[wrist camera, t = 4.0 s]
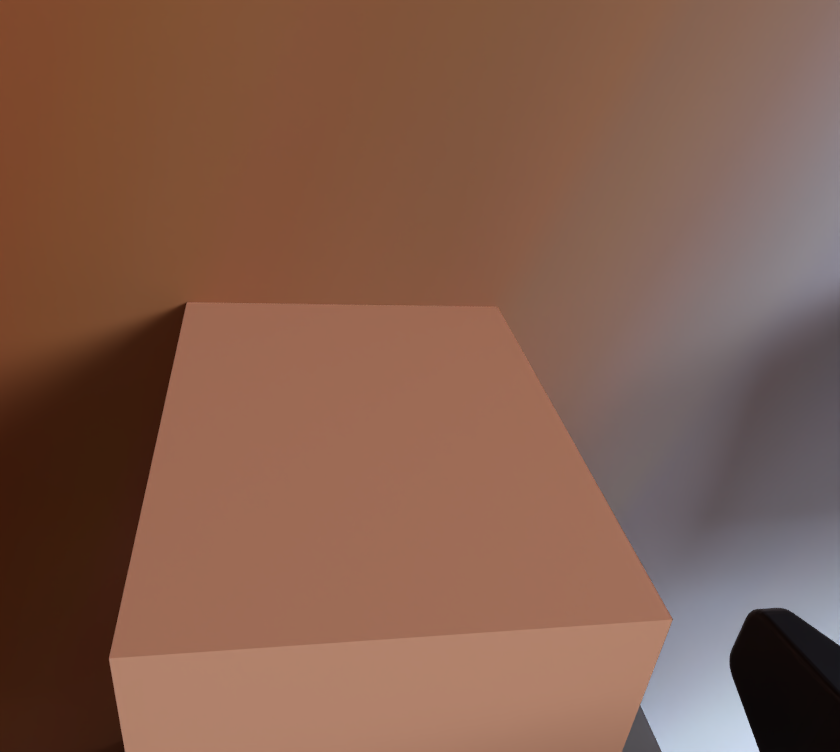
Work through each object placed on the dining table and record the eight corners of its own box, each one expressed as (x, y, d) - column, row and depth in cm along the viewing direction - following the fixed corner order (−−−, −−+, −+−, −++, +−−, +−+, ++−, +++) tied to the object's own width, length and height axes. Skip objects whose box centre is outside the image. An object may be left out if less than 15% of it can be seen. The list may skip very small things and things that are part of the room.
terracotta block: (496, 305, 11) (671, 619, 6) (460, 529, 14) (568, 889, 9) (186, 301, 11) (107, 658, 6) (203, 540, 13) (158, 947, 8)
